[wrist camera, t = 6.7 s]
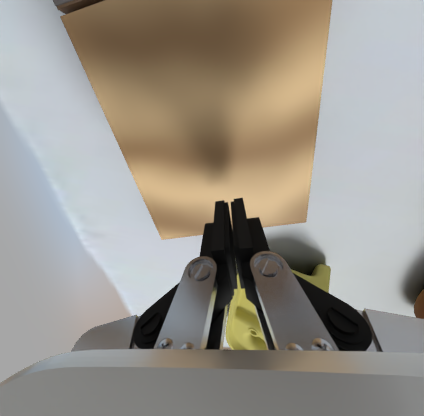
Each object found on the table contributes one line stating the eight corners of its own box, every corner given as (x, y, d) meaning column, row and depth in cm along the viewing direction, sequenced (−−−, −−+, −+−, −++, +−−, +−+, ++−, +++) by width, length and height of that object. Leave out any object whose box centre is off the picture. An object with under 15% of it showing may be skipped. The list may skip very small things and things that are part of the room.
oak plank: (81, 29, 10) (60, 16, 9) (322, -54, 8) (342, -86, 7) (166, 230, 18) (161, 239, 16) (299, 213, 16) (306, 222, 14)
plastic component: (236, 266, 18) (341, 311, 14) (253, 232, 24) (331, 258, 20) (222, 347, 28) (283, 388, 24) (237, 308, 33) (288, 336, 29)
